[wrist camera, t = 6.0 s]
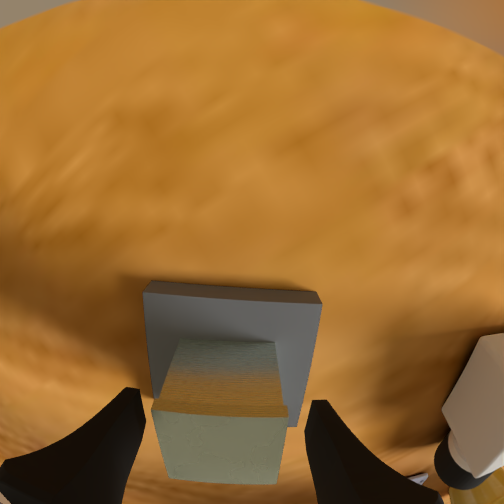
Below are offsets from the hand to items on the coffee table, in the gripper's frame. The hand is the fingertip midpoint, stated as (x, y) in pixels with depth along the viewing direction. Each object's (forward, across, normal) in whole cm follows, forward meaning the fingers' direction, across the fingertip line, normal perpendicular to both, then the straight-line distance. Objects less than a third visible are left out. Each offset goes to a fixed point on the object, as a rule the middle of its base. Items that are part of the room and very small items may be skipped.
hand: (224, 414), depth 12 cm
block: (+5, 0, 0) cm, 5 cm away
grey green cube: (+3, 0, 0) cm, 3 cm away
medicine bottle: (0, -19, -1) cm, 19 cm away
